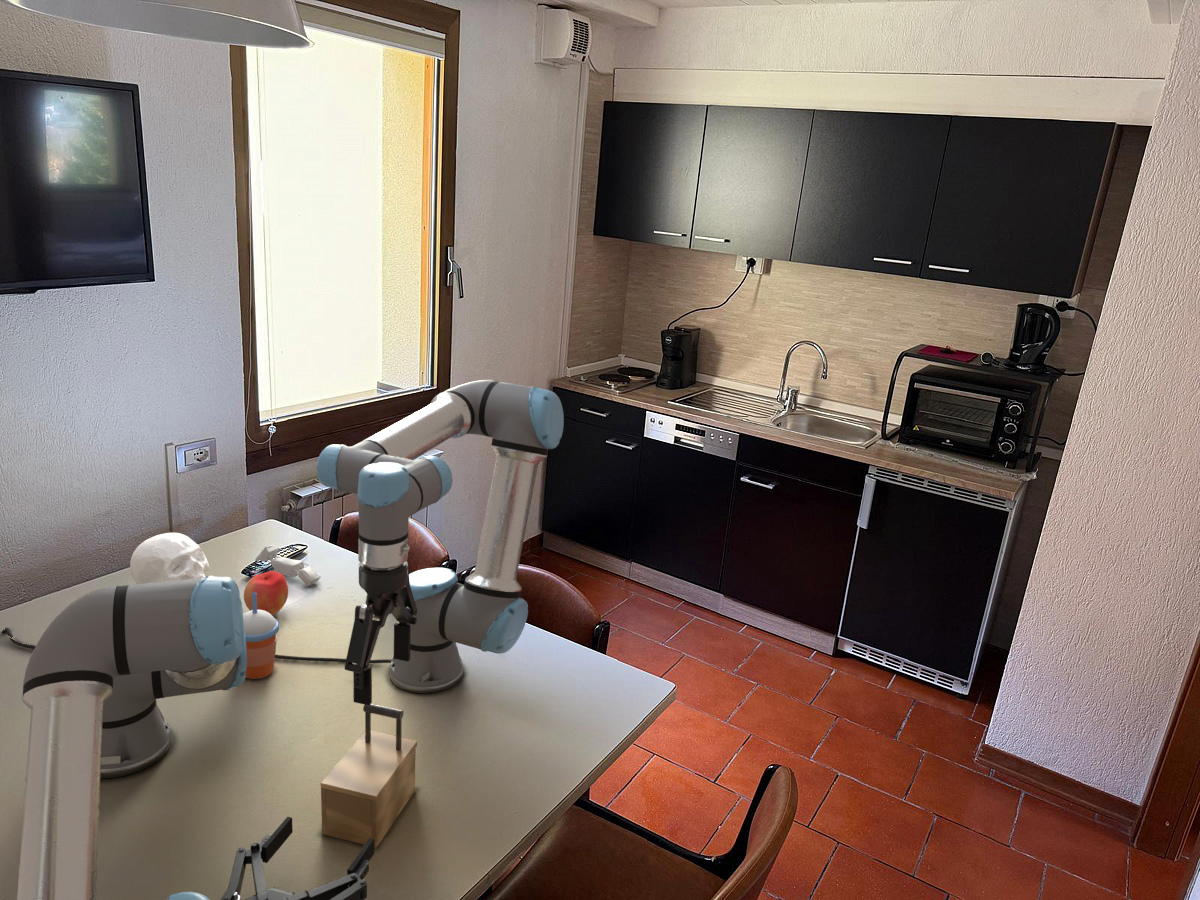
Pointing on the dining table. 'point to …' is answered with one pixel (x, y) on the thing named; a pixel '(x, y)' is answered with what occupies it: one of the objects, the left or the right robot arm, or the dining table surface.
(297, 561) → the white long bent piece
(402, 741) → the lid
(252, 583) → the apple
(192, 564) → the skull
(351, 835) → the chest
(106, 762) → the left robot arm
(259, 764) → the dining table surface
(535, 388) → the right robot arm
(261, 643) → the cup with straw
